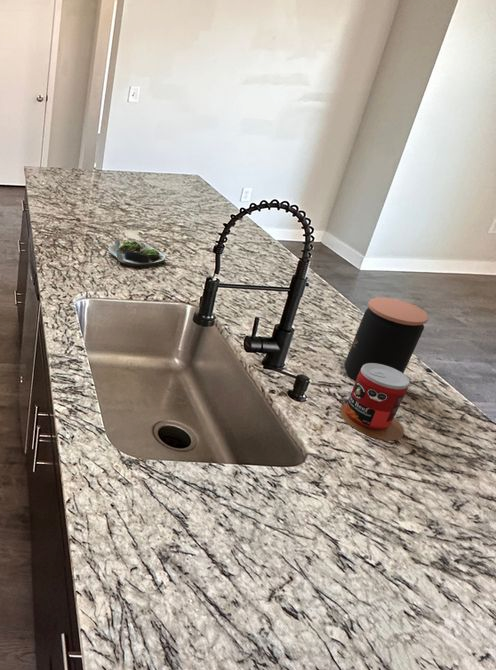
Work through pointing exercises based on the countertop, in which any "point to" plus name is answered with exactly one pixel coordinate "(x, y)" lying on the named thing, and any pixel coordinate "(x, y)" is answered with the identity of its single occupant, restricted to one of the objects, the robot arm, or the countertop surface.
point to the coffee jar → (386, 335)
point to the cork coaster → (389, 433)
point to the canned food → (376, 396)
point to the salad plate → (136, 254)
